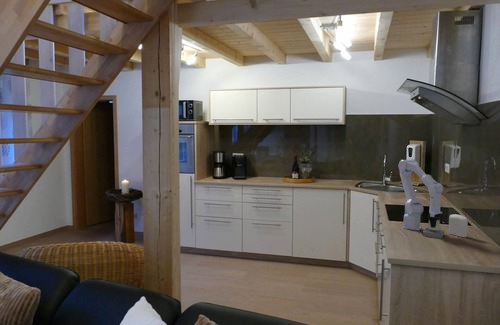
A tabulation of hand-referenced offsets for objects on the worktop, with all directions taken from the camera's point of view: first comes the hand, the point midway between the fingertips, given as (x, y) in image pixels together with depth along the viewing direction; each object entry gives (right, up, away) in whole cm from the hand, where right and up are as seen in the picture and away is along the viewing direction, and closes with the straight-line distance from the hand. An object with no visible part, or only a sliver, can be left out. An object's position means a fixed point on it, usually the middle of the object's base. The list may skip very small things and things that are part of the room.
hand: (433, 226), depth 227 cm
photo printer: (+14, -6, 0) cm, 15 cm away
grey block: (0, -6, +1) cm, 6 cm away
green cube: (0, -2, 0) cm, 2 cm away
